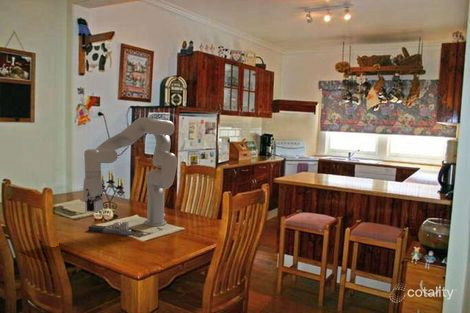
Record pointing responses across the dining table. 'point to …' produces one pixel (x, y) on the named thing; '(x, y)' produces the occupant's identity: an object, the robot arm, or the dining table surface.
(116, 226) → the small socket
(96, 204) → the socket
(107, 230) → the ratchet
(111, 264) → the dining table surface
